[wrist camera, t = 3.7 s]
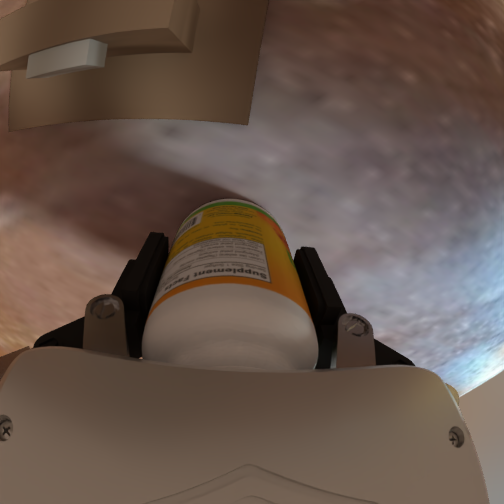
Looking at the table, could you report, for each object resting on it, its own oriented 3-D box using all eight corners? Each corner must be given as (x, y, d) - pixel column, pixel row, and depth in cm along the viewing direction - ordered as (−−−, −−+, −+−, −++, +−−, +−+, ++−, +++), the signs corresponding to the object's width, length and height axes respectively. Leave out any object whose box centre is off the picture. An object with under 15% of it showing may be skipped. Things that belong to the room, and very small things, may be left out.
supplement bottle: (281, 288, 15) (317, 464, 7) (183, 290, 15) (155, 467, 7) (288, 194, 12) (377, 389, 4) (169, 197, 12) (78, 392, 4)
